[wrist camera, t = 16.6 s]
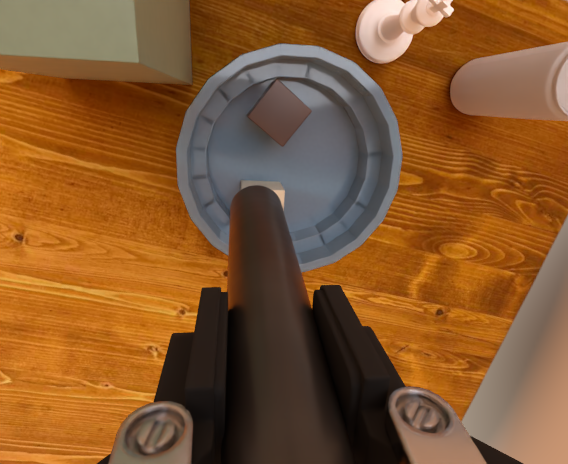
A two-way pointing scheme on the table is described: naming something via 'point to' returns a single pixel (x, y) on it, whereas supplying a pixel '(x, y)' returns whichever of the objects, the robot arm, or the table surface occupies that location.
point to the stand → (98, 39)
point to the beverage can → (515, 84)
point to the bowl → (293, 150)
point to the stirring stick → (274, 348)
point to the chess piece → (395, 25)
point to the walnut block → (279, 112)
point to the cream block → (269, 184)
